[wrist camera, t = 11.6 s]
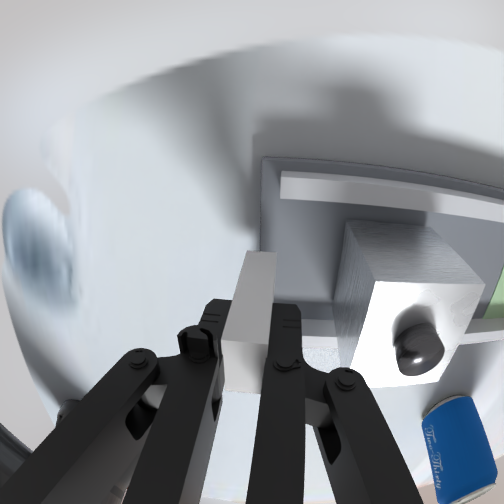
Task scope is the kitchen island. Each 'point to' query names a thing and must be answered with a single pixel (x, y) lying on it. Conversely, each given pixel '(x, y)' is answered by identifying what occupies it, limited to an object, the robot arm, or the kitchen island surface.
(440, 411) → the beverage can
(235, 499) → the kitchen island surface
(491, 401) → the kitchen island surface
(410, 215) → the base
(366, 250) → the white cube with knob
